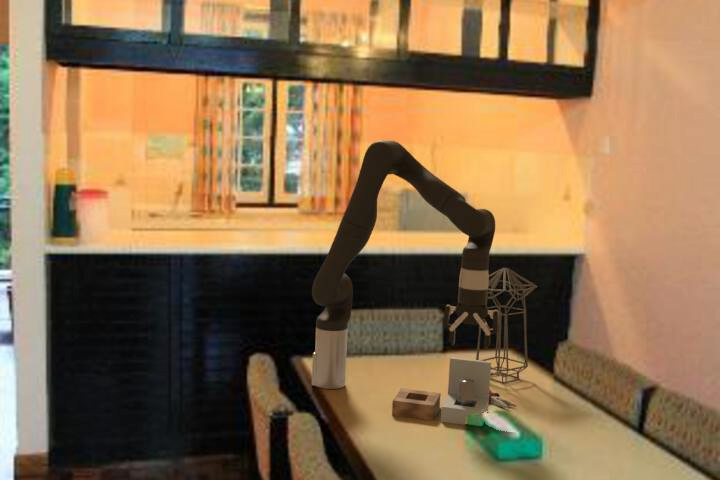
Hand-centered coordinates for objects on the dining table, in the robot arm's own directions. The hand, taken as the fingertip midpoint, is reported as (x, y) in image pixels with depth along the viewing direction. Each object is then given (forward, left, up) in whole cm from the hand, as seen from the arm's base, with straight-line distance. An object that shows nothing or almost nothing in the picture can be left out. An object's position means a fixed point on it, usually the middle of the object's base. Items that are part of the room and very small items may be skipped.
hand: (469, 346), depth 201 cm
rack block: (0, 0, -19) cm, 19 cm away
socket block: (-13, 0, -19) cm, 23 cm away
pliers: (+2, +17, -20) cm, 26 cm away
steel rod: (0, 0, -19) cm, 19 cm away
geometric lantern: (+6, +41, -19) cm, 46 cm away
